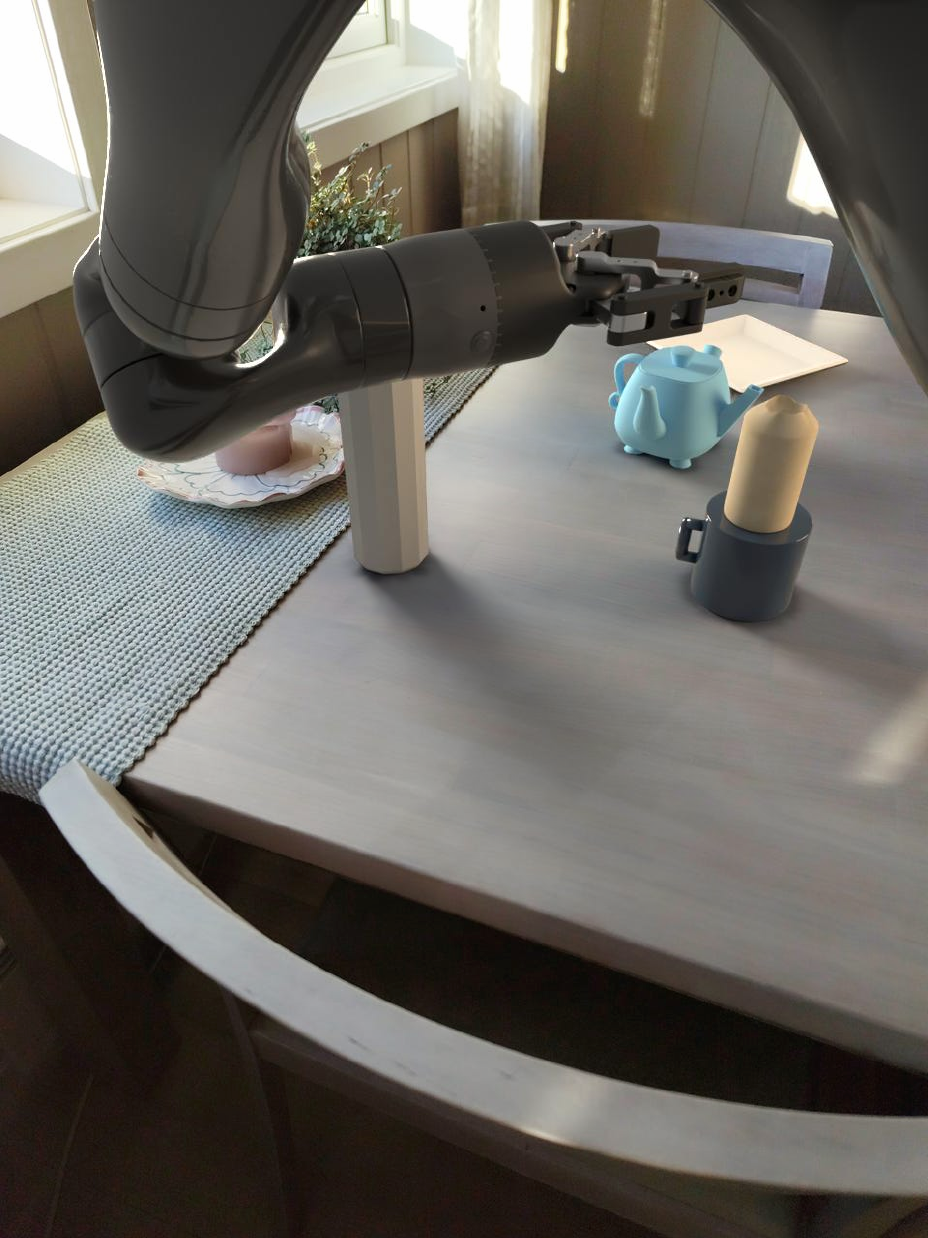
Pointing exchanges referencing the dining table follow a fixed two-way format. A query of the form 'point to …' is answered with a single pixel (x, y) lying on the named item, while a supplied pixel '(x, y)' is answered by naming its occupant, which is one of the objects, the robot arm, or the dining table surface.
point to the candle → (770, 465)
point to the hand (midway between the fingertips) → (695, 260)
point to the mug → (743, 563)
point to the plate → (756, 352)
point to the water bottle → (386, 474)
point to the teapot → (676, 403)
